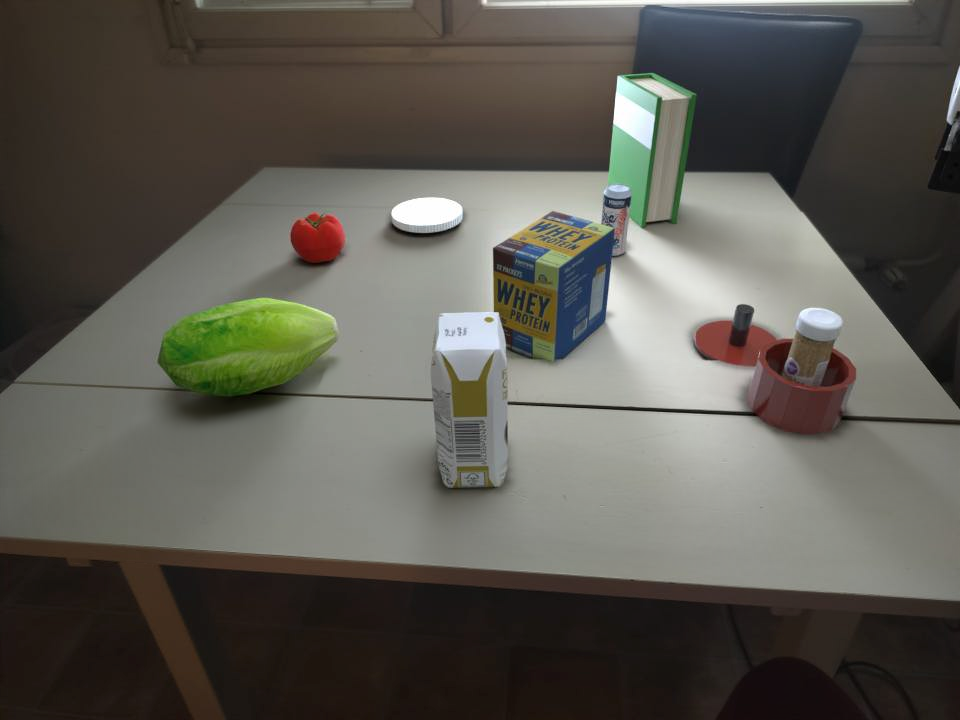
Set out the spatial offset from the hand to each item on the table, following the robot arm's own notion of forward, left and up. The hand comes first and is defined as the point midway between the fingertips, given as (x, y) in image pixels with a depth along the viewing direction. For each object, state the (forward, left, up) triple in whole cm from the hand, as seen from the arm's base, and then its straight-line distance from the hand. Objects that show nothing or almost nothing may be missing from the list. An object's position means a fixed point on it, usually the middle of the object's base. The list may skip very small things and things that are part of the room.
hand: (947, 175), depth 70 cm
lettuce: (+80, 0, -28) cm, 85 cm away
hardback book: (+20, -60, -28) cm, 69 cm away
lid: (+14, -9, -28) cm, 32 cm away
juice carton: (+50, +16, -28) cm, 60 cm away
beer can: (+28, -40, -28) cm, 57 cm away
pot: (+11, +5, -28) cm, 31 cm away
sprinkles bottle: (+11, +5, -28) cm, 30 cm away
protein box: (+40, -13, -28) cm, 51 cm away
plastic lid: (+63, -53, -28) cm, 87 cm away
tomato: (+81, -38, -28) cm, 94 cm away
